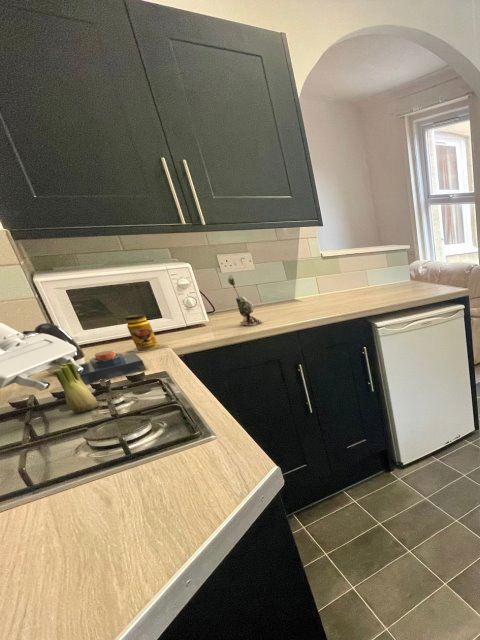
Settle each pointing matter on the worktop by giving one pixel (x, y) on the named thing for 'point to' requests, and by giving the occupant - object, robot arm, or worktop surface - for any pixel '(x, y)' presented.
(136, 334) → the condiment
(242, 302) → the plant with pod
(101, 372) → the blue jug base
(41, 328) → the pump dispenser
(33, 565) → the worktop surface
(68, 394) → the fennel bulb
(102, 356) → the jug button
